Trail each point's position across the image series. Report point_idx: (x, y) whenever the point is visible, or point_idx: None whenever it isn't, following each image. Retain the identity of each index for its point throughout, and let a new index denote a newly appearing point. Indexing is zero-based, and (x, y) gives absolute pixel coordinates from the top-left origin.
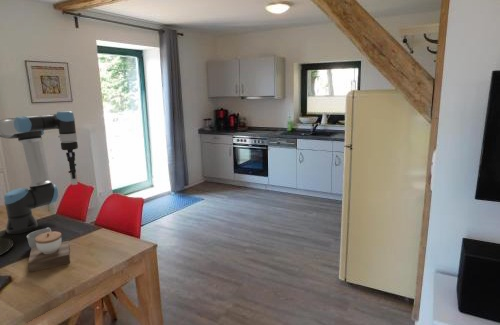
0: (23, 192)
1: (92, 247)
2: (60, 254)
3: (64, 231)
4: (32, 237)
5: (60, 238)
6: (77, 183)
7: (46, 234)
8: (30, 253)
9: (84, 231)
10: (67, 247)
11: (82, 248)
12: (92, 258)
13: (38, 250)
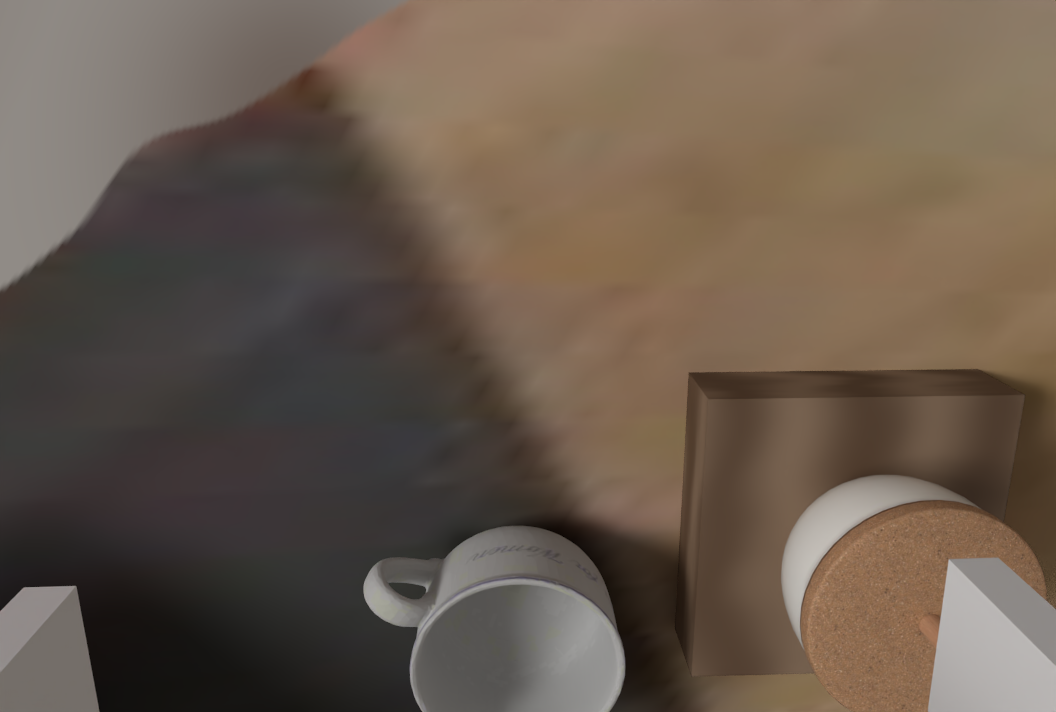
0: None
1: (786, 179)
2: (976, 459)
3: (232, 424)
4: (454, 694)
5: (963, 502)
6: (1016, 576)
7: (883, 642)
8: (799, 672)
9: (327, 237)
10: (863, 407)
11: (752, 268)
12: (1018, 193)
13: (775, 623)
